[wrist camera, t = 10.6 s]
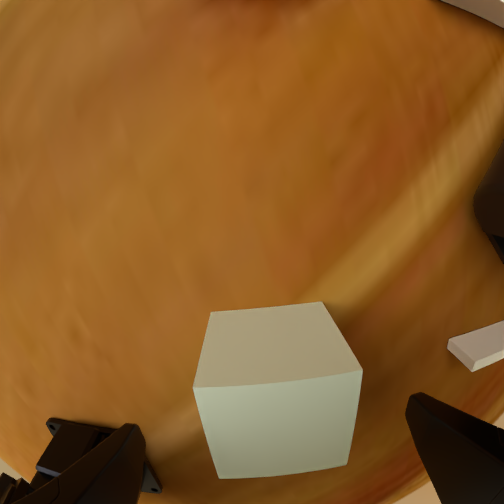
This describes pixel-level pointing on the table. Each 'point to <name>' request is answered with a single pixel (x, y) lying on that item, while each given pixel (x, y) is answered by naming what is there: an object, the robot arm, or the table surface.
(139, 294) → the table surface
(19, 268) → the table surface
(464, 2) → the white u-shaped frame
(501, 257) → the end cap
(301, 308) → the block
